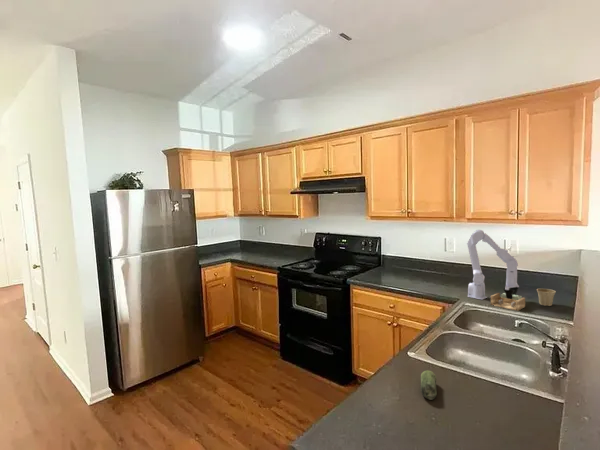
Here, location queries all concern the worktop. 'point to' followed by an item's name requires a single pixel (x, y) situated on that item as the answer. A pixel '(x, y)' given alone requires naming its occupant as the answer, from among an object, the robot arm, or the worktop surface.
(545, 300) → the flower pot
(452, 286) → the worktop surface
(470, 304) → the worktop surface
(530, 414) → the worktop surface
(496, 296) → the peg cradle
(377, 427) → the worktop surface
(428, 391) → the vegetable
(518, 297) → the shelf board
